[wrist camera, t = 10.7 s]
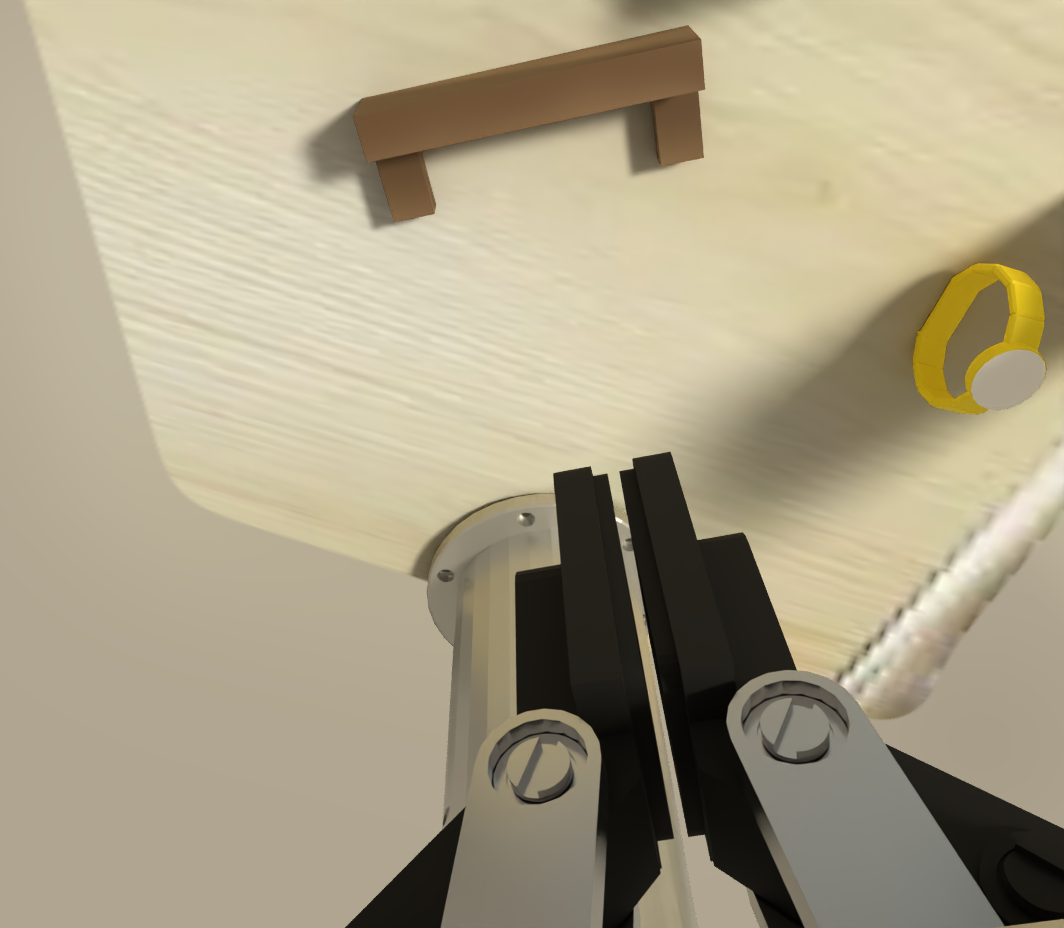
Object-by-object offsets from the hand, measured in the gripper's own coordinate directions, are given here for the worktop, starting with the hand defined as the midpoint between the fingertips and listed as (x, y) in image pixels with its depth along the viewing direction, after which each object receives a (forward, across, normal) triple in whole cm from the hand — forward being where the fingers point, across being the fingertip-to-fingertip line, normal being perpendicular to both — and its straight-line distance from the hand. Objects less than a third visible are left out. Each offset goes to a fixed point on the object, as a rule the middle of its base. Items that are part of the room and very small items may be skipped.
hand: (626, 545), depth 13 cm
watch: (+25, -16, +10) cm, 31 cm away
